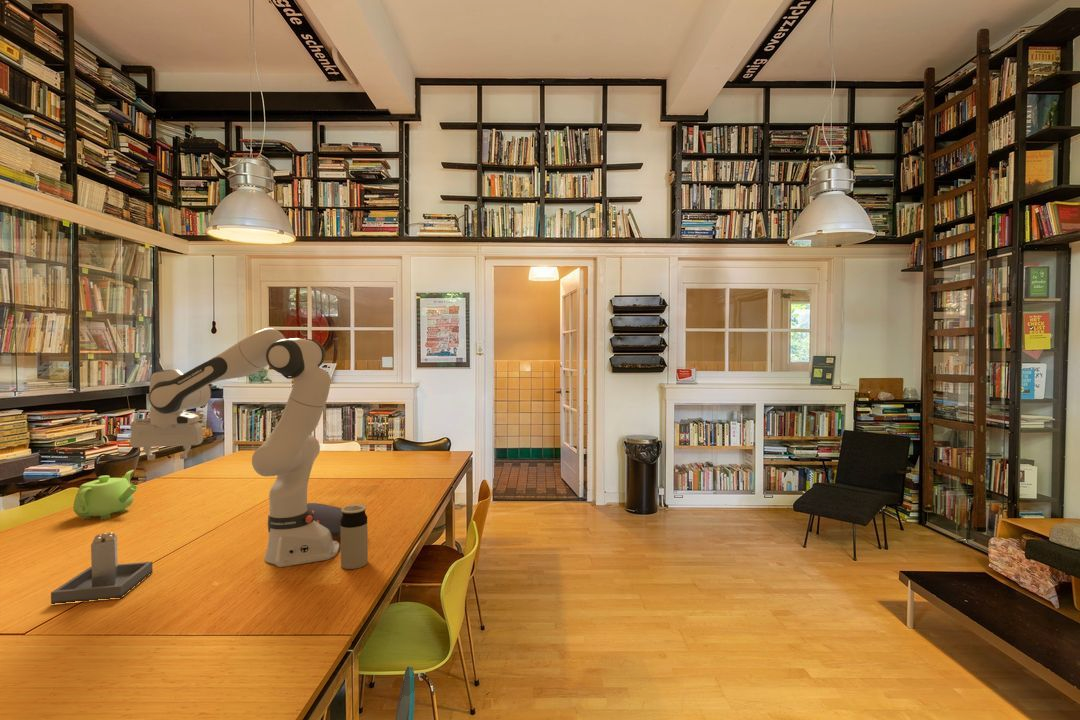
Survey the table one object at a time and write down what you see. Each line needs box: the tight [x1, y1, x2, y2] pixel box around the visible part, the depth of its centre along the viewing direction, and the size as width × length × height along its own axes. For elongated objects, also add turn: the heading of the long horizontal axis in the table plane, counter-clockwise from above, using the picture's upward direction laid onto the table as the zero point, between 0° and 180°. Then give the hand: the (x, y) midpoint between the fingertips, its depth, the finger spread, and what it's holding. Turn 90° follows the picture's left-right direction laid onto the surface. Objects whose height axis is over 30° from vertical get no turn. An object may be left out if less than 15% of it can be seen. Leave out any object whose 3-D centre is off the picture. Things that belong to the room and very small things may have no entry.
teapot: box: [73, 469, 139, 520], centre depth 205 cm, size 25×22×16 cm
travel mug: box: [340, 504, 369, 570], centre depth 158 cm, size 8×8×18 cm
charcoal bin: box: [50, 561, 154, 605], centre depth 142 cm, size 16×16×4 cm
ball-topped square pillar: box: [90, 532, 119, 587], centre depth 142 cm, size 5×5×15 cm
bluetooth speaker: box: [307, 502, 343, 537], centre depth 184 cm, size 23×9×10 cm, turn 62°
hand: (167, 459), depth 167 cm, fingers open, 8 cm apart
